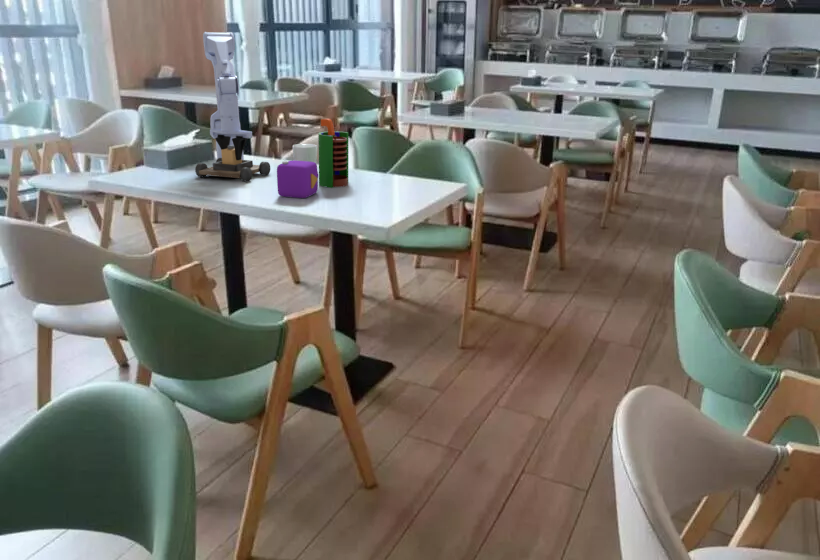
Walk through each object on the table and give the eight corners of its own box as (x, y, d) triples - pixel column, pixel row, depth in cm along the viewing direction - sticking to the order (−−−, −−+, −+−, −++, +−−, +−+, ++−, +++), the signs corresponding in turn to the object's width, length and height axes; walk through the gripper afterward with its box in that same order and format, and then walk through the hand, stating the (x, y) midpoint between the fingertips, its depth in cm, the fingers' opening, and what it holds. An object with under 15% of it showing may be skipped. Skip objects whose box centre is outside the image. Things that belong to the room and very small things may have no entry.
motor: (342, 188, 207) (341, 121, 200) (314, 186, 209) (312, 120, 202) (351, 181, 216) (351, 117, 210) (324, 180, 218) (323, 116, 211)
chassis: (224, 169, 232) (223, 156, 230) (271, 174, 226) (270, 160, 224) (195, 178, 218) (194, 163, 216) (244, 183, 212) (243, 168, 210)
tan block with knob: (231, 165, 223) (229, 144, 221) (242, 166, 222) (240, 145, 219) (222, 168, 219) (220, 146, 216) (233, 169, 218) (231, 147, 215)
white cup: (288, 176, 223) (287, 146, 219) (303, 172, 229) (302, 142, 226) (308, 179, 219) (307, 148, 216) (322, 175, 226) (321, 145, 222)
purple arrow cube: (323, 189, 205) (322, 156, 202) (312, 200, 193) (311, 164, 189) (288, 188, 206) (286, 155, 203) (275, 198, 193) (273, 163, 190)
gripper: (202, 116, 214) (206, 159, 219) (242, 119, 210) (245, 162, 214) (216, 114, 220) (219, 156, 225) (254, 116, 216) (257, 159, 220)
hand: (232, 159), depth 220 cm, fingers closed on tan block with knob, 4 cm apart
